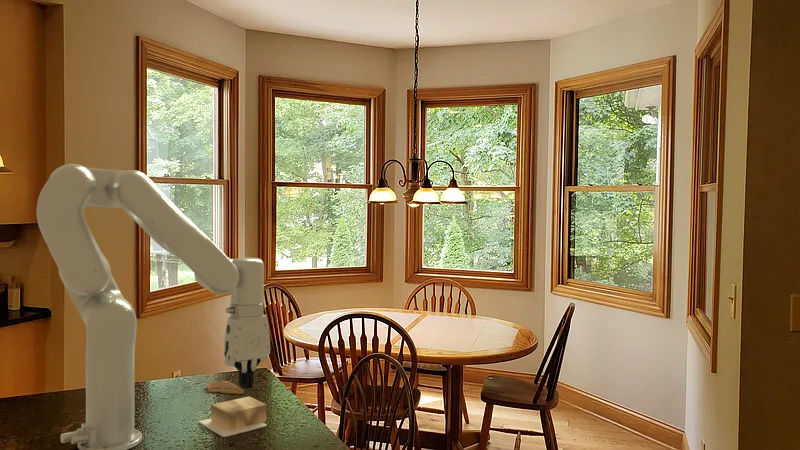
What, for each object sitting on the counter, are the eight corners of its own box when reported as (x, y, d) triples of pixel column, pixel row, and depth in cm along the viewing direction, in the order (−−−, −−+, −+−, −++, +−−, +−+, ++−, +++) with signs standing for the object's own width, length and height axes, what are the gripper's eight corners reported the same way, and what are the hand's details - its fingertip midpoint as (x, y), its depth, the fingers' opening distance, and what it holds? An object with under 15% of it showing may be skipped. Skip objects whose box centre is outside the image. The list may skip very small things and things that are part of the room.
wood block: (266, 421, 154) (227, 430, 147) (249, 412, 160) (211, 421, 153) (266, 404, 154) (227, 413, 147) (249, 396, 160) (211, 404, 153)
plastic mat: (223, 437, 145) (223, 435, 145) (198, 422, 153) (198, 421, 153) (266, 426, 152) (266, 424, 152) (240, 412, 161) (240, 411, 161)
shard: (244, 395, 176) (244, 389, 176) (216, 400, 172) (216, 393, 171) (229, 385, 185) (229, 379, 185) (202, 389, 180) (202, 383, 180)
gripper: (225, 316, 146) (224, 397, 147) (283, 309, 156) (281, 385, 157) (210, 311, 152) (209, 389, 152) (266, 305, 162) (265, 378, 162)
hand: (246, 387), depth 155 cm, fingers closed
